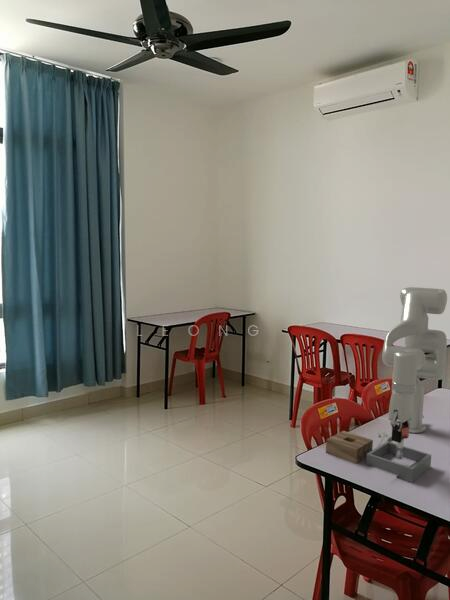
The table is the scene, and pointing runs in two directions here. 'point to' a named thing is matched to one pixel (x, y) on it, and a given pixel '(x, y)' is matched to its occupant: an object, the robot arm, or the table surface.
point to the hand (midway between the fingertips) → (400, 438)
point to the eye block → (349, 446)
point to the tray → (401, 470)
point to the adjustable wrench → (384, 436)
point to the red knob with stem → (400, 445)
